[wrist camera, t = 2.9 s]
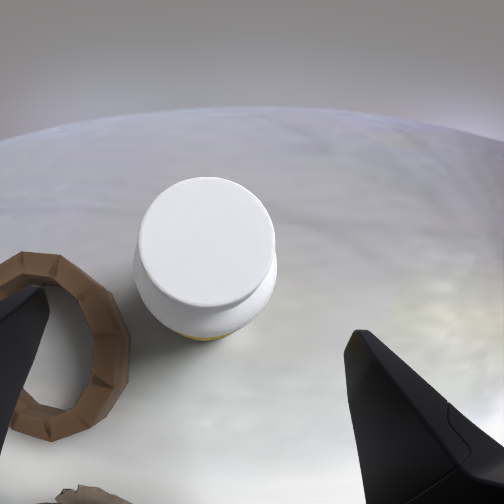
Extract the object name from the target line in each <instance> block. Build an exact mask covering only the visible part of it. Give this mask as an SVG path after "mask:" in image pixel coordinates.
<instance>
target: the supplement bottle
mask: <svg viewBox="0 0 504 504" xmlns="http://www.w3.org/2000/svg"><path fill="white" fill-rule="evenodd" d="M276 275H277V260H276V253H275V234H274V228H273V225H272V222H271V219H270V217H269V215H268V213H267V211H266V209H265V207H264V206H263V204H262V203H261V202H260V201H259V200H258V199H257V198H256V197H255V196H254V195H253V194H252V193H251V192H250V191H248V190H247V189H245V188H244V187H242V186H240V185H239V184H237V183H234V182H232V181H229V180H226V179H221V178H216V177H198V178H192V179H188V180H184V181H181V182H179V183H176V184H174V185H172V186H171V187H169V188H168V189H166V190H165V191H163V192H162V193H161V194H160V195H159V196H158V197H157V198H156V199H155V200H154V201H153V202H152V203H151V205H150V206H149V208H148V209H147V211H146V212H145V215H144V217H143V219H142V222H141V225H140V228H139V234H138V243H137V246H136V250H135V255H134V277H135V282H136V286H137V289H138V292H139V294H140V296H141V298H142V300H143V302H144V304H145V305H146V307H147V308H148V309H149V311H150V312H151V313H152V314H153V315H154V316H155V318H156V319H157V320H159V321H160V322H161V323H162V324H163V325H165V326H166V327H168V328H169V329H171V330H173V331H175V332H177V333H179V334H181V335H182V336H185V337H187V338H190V339H194V340H199V341H211V340H217V339H220V338H223V337H225V336H228V335H230V334H232V333H233V332H235V331H237V330H239V329H241V328H242V327H244V326H245V325H247V324H248V323H250V322H251V321H252V320H253V319H254V318H255V317H256V316H257V315H258V314H259V313H260V312H261V311H262V309H263V308H264V307H265V305H266V304H267V302H268V300H269V298H270V296H271V294H272V291H273V289H274V285H275V281H276Z"/></svg>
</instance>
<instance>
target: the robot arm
mask: <svg viewBox="0 0 504 504" xmlns="http://www.w3.org/2000/svg"><path fill="white" fill-rule="evenodd" d="M49 313H50V311H49V305H48V301H47V297H46V292H45V289H44V288H43V287H41V286H37V285H30V286H28V287H26V288H24V289H22V290H20V291H18V292H16V293H14V294H12V295H10V296H8V297H6V298H4V299H2V300H0V454H1V451H2V447H3V444H4V440H5V437H6V434H7V431H8V428H9V425H10V422H11V419H12V416H13V413H14V410H15V407H16V404H17V402H18V399H19V396H20V394H21V391H22V388H23V386H24V383H25V381H26V378H27V376H28V373H29V371H30V369H31V366H32V364H33V361H34V359H35V356H36V353H37V350H38V347H39V344H40V341H41V338H42V335H43V332H44V329H45V326H46V323H47V321H48V318H49ZM344 364H345V374H346V385H347V396H348V403H349V409H350V414H351V419H352V424H353V429H354V434H355V440H356V445H357V451H358V456H359V462H360V468H361V474H362V480H363V486H364V493H365V499H366V504H504V447H503V446H502V445H500V444H499V443H498V442H496V441H495V440H494V439H493V438H491V437H490V436H489V435H487V434H486V433H485V432H484V431H482V430H481V429H480V428H478V427H477V426H476V425H475V424H473V423H472V422H471V421H470V420H468V419H467V418H466V417H465V416H464V415H463V414H462V413H460V412H459V411H458V410H457V409H456V408H455V407H454V406H453V405H452V404H450V403H449V402H448V401H447V400H446V399H445V398H444V397H443V396H442V395H440V394H439V393H438V392H437V391H436V390H435V389H434V388H433V387H432V386H431V385H429V384H428V383H427V382H426V381H425V380H424V379H423V378H422V377H421V376H419V375H418V374H417V373H416V372H415V371H414V370H413V369H412V368H410V367H409V366H408V365H407V364H406V363H405V362H404V361H403V360H402V359H400V358H399V357H398V356H397V355H396V354H395V353H394V352H393V351H391V350H390V349H389V348H388V347H387V346H386V345H385V344H383V343H382V342H381V341H380V340H379V339H378V338H377V337H376V336H374V335H373V334H372V333H371V332H370V331H368V330H355V331H354V332H353V333H352V336H351V338H350V340H349V342H348V344H347V346H346V348H345V351H344Z"/></svg>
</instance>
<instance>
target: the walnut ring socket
mask: <svg viewBox="0 0 504 504" xmlns="http://www.w3.org/2000/svg"><path fill="white" fill-rule="evenodd" d="M44 284H49V285H57V286H62V287H64V288H65V289H66V290H67V291H68V292H69V293H70V294H72V295H73V296H74V297H75V298H76V299H77V300H78V301H79V304H80V307H81V309H82V312H83V314H84V317H85V319H86V322H87V324H88V327H89V329H90V332H91V334H92V336H93V350H92V379H91V380H90V382H89V384H88V385H87V387H86V389H85V390H84V392H83V394H82V395H81V397H80V399H79V400H78V402H77V404H76V405H75V407H74V408H72V409H70V410H67V411H65V410H61V409H57V408H53V407H49V406H45V405H41V404H39V403H37V402H36V401H35V400H34V399H33V398H32V397H31V396H30V395H29V394H28V393H27V392H26V391H25V390H24V389H23V388H22V391H21V394H20V396H19V399H18V402H17V404H16V407H15V410H14V413H13V416H12V419H11V422H10V425H9V427H10V428H11V429H12V430H15V431H18V432H21V433H24V434H27V435H30V436H33V437H36V438H39V439H43V440H46V441H49V442H53V441H56V440H59V439H62V438H65V437H68V436H70V435H73V434H76V433H78V432H81V431H84V430H86V429H89V428H91V427H92V426H94V425H95V424H97V423H98V422H100V421H101V420H102V419H104V418H105V417H107V415H108V413H109V412H110V410H111V409H112V407H113V405H114V404H115V402H116V401H117V399H118V397H119V396H120V394H121V393H122V391H123V390H124V388H125V386H126V385H127V383H128V373H129V347H130V335H129V333H128V330H127V328H126V326H125V324H124V322H123V319H122V317H121V315H120V313H119V310H118V308H117V306H116V303H115V301H114V298H113V296H112V294H111V293H110V292H109V291H107V290H106V289H105V288H103V287H102V286H101V285H100V284H98V283H97V282H96V281H95V280H93V279H92V278H91V277H90V276H88V275H87V274H86V273H85V272H83V271H82V270H81V269H80V268H79V267H77V266H76V265H74V264H73V263H71V262H70V261H68V260H67V259H65V258H64V257H63V256H61V255H55V254H44V253H33V252H22V251H21V252H20V253H18V254H16V255H15V256H13V257H11V258H10V259H8V260H6V261H5V262H3V263H2V264H0V300H2V299H4V298H6V297H8V296H10V295H12V294H14V293H16V292H18V291H20V290H22V289H24V288H26V287H28V286H30V285H37V286H43V285H44Z"/></svg>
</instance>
